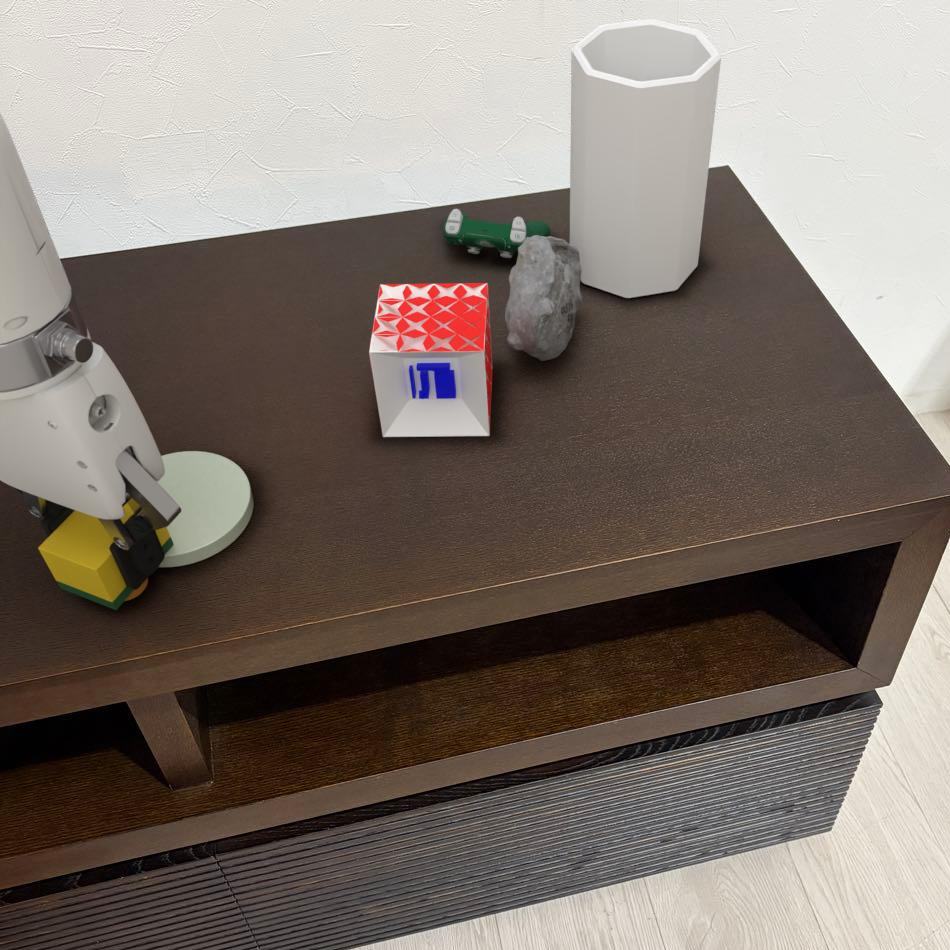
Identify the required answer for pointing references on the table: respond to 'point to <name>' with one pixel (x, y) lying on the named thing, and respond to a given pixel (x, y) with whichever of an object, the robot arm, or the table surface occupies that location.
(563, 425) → the table surface
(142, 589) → the orange flat disc
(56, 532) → the sponge
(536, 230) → the gaming controller
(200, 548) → the plate
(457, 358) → the puzzle cube
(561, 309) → the stone
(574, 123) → the cup
